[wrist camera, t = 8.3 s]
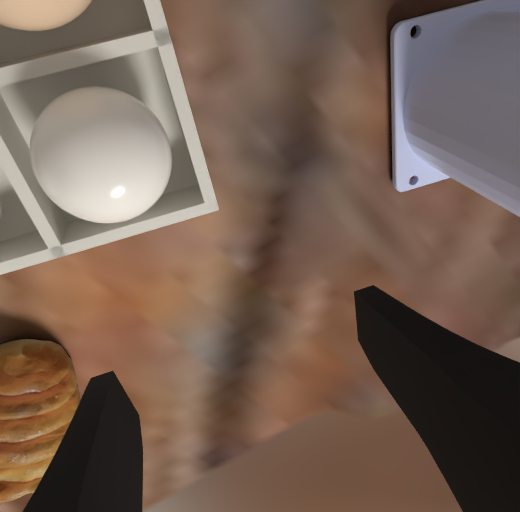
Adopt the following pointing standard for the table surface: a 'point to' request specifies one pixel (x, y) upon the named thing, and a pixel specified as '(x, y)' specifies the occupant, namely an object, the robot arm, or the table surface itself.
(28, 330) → the table surface
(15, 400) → the pastry
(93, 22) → the egg carton
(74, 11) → the brown egg
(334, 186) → the table surface
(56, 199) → the white egg
